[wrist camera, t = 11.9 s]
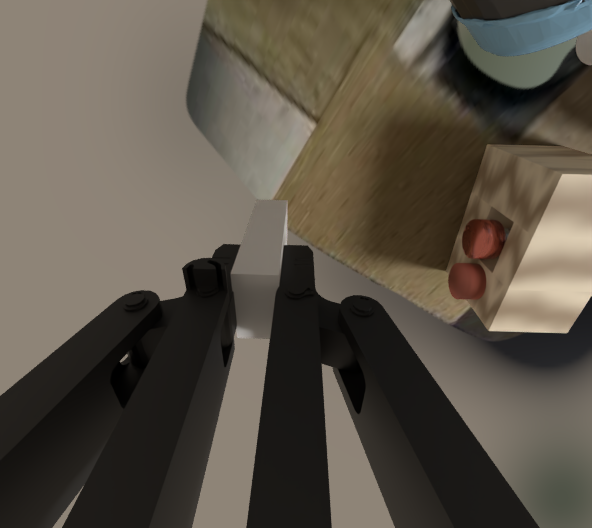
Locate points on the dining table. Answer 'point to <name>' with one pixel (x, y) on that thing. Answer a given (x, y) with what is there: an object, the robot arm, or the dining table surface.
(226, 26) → the dining table surface
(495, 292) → the block
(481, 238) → the knob
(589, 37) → the cosmetic bottle
